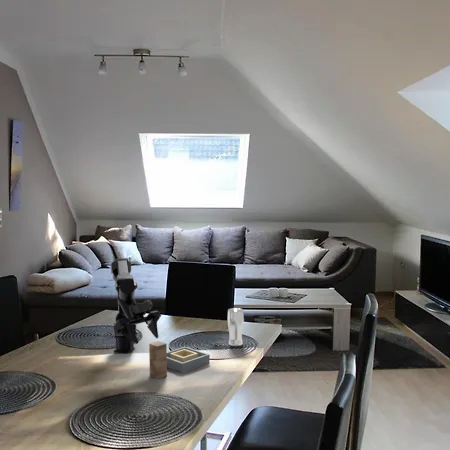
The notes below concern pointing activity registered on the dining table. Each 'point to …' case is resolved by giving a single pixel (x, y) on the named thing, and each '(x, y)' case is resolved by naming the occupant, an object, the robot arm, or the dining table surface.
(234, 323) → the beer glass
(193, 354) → the housing
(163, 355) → the post
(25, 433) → the dining table surface
